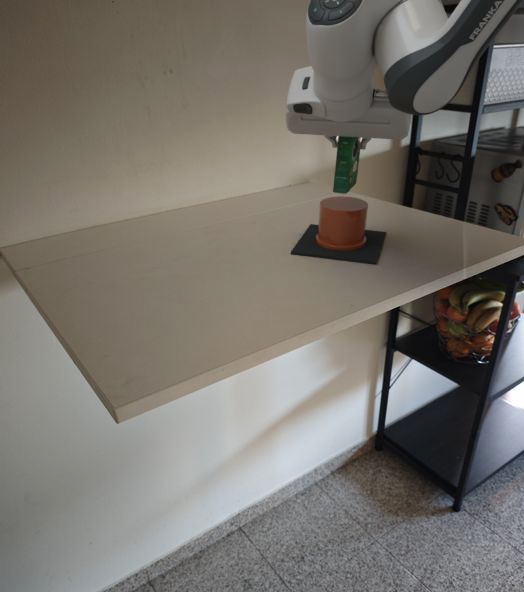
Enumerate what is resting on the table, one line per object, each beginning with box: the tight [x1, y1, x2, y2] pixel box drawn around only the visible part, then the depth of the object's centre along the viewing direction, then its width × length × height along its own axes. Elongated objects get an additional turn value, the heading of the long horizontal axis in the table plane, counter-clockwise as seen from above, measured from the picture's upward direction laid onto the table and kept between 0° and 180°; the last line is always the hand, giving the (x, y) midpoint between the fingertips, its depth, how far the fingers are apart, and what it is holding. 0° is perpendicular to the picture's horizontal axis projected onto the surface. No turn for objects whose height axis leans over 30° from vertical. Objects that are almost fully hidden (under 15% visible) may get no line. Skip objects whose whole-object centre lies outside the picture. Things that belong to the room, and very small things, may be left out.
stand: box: [316, 196, 369, 251], centre depth 96 cm, size 10×10×8 cm
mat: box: [290, 223, 387, 265], centre depth 98 cm, size 16×16×1 cm
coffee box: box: [332, 136, 361, 195], centre depth 89 cm, size 8×3×13 cm, turn 159°
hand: (349, 145), depth 89 cm, fingers closed on coffee box, 3 cm apart
